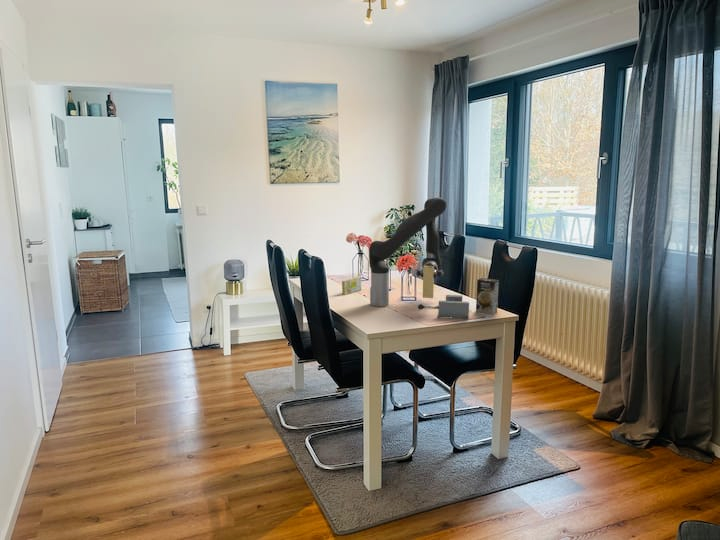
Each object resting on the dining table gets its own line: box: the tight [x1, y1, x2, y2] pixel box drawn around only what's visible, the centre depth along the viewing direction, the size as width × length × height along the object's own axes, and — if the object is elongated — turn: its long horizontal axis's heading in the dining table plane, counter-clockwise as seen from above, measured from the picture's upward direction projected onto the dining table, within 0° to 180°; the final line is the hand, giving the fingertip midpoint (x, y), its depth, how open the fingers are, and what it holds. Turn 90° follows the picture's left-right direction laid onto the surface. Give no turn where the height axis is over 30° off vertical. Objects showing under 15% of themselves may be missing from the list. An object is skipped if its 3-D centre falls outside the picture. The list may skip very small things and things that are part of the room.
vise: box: [417, 300, 470, 320], centre depth 261 cm, size 24×15×8 cm, turn 80°
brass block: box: [422, 266, 435, 299], centre depth 262 cm, size 5×5×15 cm
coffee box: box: [475, 277, 500, 315], centre depth 264 cm, size 9×6×16 cm
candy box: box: [341, 276, 362, 296], centre depth 310 cm, size 16×2×8 cm, turn 144°
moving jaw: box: [445, 294, 463, 302], centre depth 266 cm, size 8×4×8 cm, turn 80°
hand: (428, 275), depth 259 cm, fingers closed on brass block, 5 cm apart
